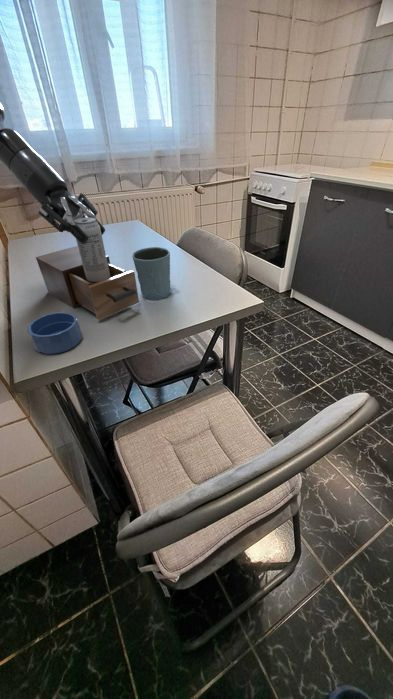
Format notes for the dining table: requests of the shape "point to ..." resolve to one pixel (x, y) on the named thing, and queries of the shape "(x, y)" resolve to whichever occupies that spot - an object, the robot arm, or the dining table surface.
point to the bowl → (55, 332)
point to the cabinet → (61, 272)
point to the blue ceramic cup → (153, 272)
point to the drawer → (104, 291)
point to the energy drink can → (92, 251)
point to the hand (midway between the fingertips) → (94, 236)
